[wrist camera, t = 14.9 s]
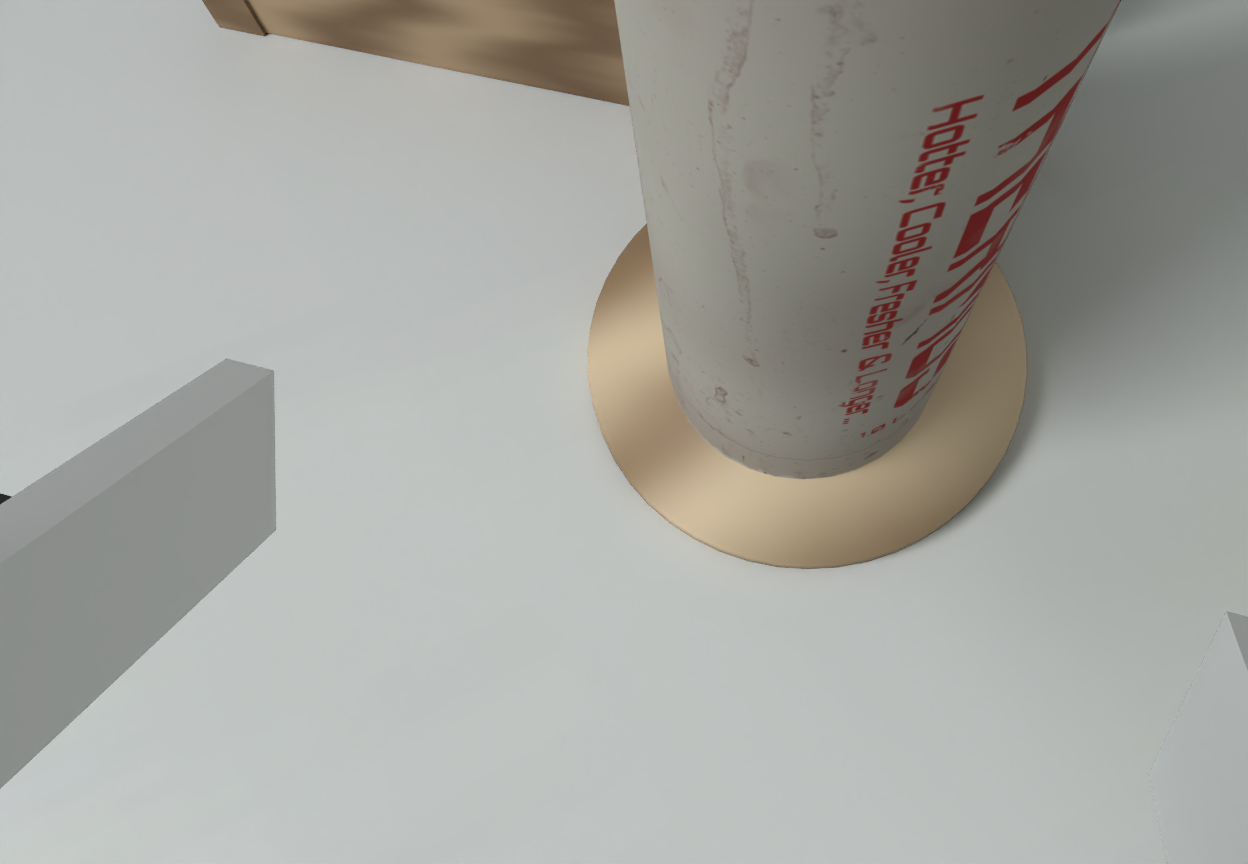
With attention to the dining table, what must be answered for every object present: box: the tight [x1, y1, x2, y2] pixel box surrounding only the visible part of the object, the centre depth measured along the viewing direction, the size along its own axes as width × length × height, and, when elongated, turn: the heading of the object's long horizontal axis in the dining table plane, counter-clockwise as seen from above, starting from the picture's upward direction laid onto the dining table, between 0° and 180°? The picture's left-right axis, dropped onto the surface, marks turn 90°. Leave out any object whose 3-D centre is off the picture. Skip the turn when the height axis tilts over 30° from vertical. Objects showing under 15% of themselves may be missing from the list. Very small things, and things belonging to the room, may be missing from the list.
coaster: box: [588, 224, 1027, 569], centre depth 34 cm, size 13×13×1 cm
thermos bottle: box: [614, 0, 1121, 479], centre depth 21 cm, size 8×8×28 cm
